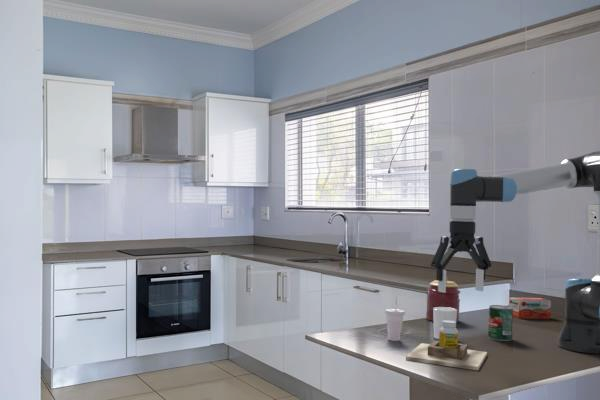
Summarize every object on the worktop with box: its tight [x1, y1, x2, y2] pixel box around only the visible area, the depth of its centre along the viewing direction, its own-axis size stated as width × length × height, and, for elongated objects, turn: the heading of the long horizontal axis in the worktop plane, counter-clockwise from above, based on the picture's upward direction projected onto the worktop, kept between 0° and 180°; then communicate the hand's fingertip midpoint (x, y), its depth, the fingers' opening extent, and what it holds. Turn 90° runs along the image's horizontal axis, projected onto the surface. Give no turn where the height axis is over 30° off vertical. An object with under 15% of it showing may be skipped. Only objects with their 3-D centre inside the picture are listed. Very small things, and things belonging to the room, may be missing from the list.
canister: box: [425, 276, 461, 323], centre depth 239 cm, size 13×13×18 cm
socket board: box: [405, 339, 488, 371], centre depth 177 cm, size 20×20×4 cm
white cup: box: [432, 307, 457, 340], centre depth 204 cm, size 8×8×10 cm
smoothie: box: [384, 296, 406, 342], centre depth 198 cm, size 6×6×14 cm
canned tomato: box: [487, 304, 514, 342], centre depth 208 cm, size 8×8×11 cm
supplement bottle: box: [438, 320, 459, 349], centre depth 177 cm, size 5×5×10 cm
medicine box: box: [508, 297, 552, 320], centre depth 256 cm, size 15×8×8 cm, turn 103°
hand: (460, 291), depth 180 cm, fingers open, 13 cm apart
